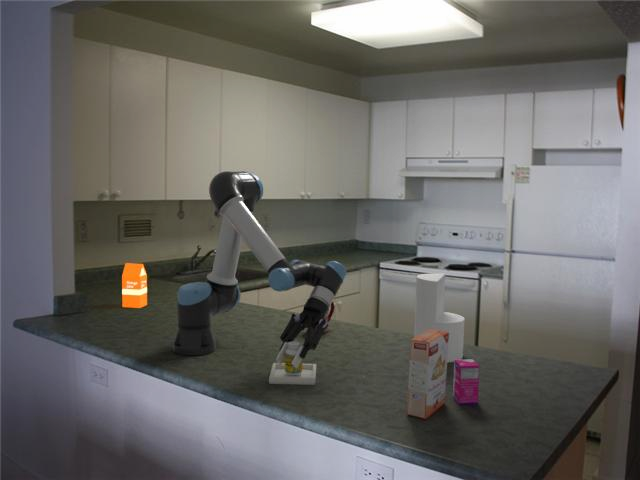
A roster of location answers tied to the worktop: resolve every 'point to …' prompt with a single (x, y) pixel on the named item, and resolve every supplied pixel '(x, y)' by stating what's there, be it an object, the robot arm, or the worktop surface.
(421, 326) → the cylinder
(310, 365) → the tray
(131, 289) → the orange juice
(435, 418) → the worktop surface
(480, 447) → the worktop surface
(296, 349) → the supplement bottle
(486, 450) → the worktop surface
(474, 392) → the supplement box
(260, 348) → the worktop surface
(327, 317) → the mug
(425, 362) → the cracker box
